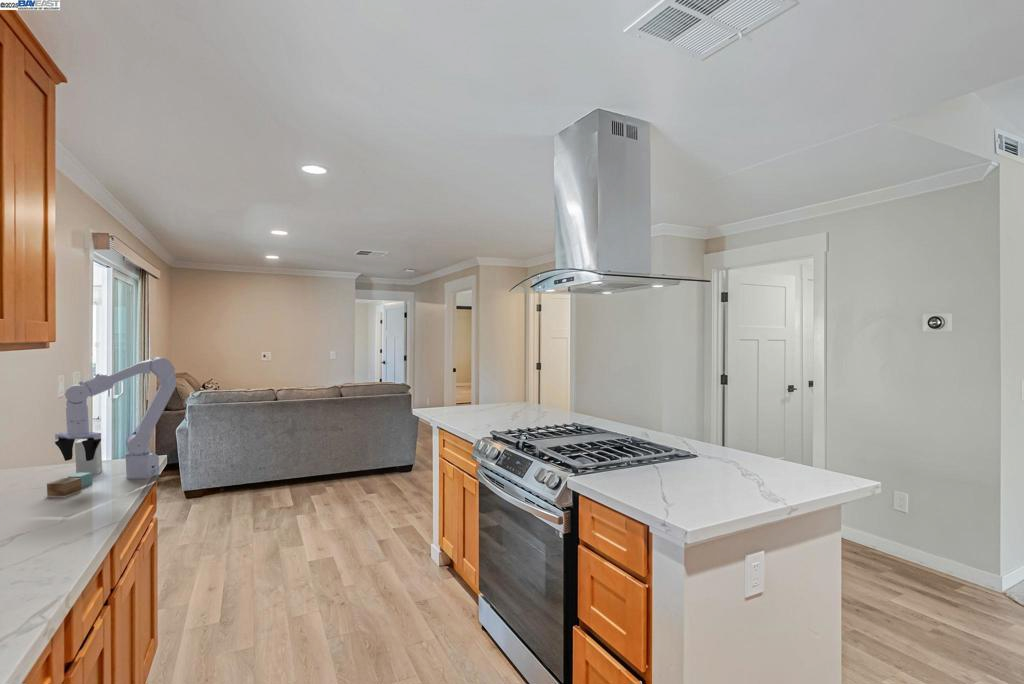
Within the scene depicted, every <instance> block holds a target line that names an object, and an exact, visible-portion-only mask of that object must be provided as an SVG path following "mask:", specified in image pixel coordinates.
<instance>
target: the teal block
mask: <svg viewBox="0 0 1024 684" xmlns="http://www.w3.org/2000/svg"><path fill="white" fill-rule="evenodd" d="M67 478H81V485H82V488H83V487H87V486H88V485H91V484H93V475H92V473H76V472H75V473H74V474H71V475H68V476H67Z"/></svg>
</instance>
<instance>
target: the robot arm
mask: <svg viewBox="0 0 1024 684" xmlns="http://www.w3.org/2000/svg"><path fill="white" fill-rule="evenodd" d="M175 371H176V370H175V367H174V365H173V363H172V362H171V360H170V359H168V358H165V357H162V356H156V357H153V358H152V359H146V360H143V361H140V362H137V363H135V364H132V365H130V366H128V367H125V368H123V369H121V370H118V371H117V372H114V373H112V374H107V373H102V374H100V373H96V374H94V376H95V377H92V378H89V379H86V380H85V381H83V380H79V382H78V384H73V385H70V386H68V387H67V389H66V390H65V393H64V396H65V399H66V402H65V405H66V407H65V412H66V413H65V414H66V418H65V419H66V420H65V421H66V432H57V433H55V434H54V438H55V440H56V441H54V444H55V445H56V447H58V449H59V450H60V452H61V454H62V456H63V459H64V462H67V461H70V460H73V455H74V453H73V449H74V445H75V442H76V441H75V440H79V439H87V440H85V441H82V444H83V446H84V449H85V455H86V461H90V460H93V459H94V455H95V451H96V449H97V447H98V445H99V443H100V441H101V442H102V432H96V431H90V427H89V426H90V425H89V424H90V423H89V422H90V421H89V406H88V404H87V403H88V402H87V400H88V397H94V396H97V395H99V394H102V393H103V392H106V391H110V390H111V389H113V387H114V385H115V384H116V383H119V382H121V381H123V380H127V379H128V378H131V377H134V376H136V375H137V376H138V375H140V374H146V375H147V374H148V375H150V374H151V373H152V374H154V375H155V376H156V379H157V381H158V382H159V384H160V385H159V386H158V388H157V390H156V392H155V394H154V395H153V398H152V400H151V402H150V403H149V405H148V407H147V409H146V411H145V413H144V414H143V416H142V419H141V420H140V422H139V424H138V425H137V426H136V428H135V429H134V430H133V432H132V433H130V435H129V436H128V437H126V439H125V445H126V447H127V449H128V450H127V451H126V452H125V470H126V471H125V472H126V473H125V474H126V479H129V480H137V479H150V478H153V477H154V476H160V475H161V474H162V473H161V472H160V459H159V456H158V454H157V453H153V452H151V449H149V448H150V440H151V438H152V436H153V432H154V429H155V427H156V425H157V423H158V421H159V420H160V418H161V416H162V414H163V413H164V411H165V408H166V406H167V404H168V403H169V401H170V399H171V397H172V395H173V394H174V391H175V389H176V387H177V384H178V382H177V377H176V372H175Z"/></svg>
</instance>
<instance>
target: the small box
mask: <svg viewBox="0 0 1024 684" xmlns="http://www.w3.org/2000/svg"><path fill="white" fill-rule="evenodd" d="M85 440H87V439H77V441H74V455H75V474H76V473H92V476H98V475H100V473H101V472H102V471H103V458H102V440H101V441H100V443H99V445H98V447H97V449H96V451H95V455H94V459H93V460H90V461H86V455H85V449H84V446H83V444H82V441H85Z"/></svg>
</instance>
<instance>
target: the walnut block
mask: <svg viewBox="0 0 1024 684" xmlns="http://www.w3.org/2000/svg"><path fill="white" fill-rule="evenodd" d="M82 489H83V487H82V485H81V478H68V477H63V478H59V479H57V480H53V481H50V482H47V483H46V496H66V497H68V496H67V495H69V496H71V495H70V494H72V493H74V494H76V493H75V492H77V493H79V492H78V491H80V490H82ZM82 491H83V490H82ZM80 492H81V491H80ZM72 495H73V494H72Z"/></svg>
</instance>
